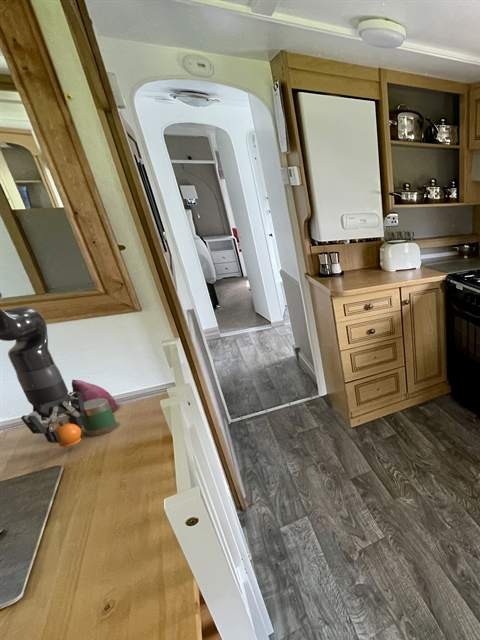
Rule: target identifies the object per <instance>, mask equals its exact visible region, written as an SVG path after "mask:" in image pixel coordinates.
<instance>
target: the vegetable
mask: <svg viewBox="0 0 480 640" xmlns="http://www.w3.org/2000/svg"><path fill="white" fill-rule="evenodd" d="M71 387H72V392H80V393H81V395H82V399H83V402H86V401H89V400H93V399H99V398H104V399H107V401H108V403H109V405H110V407H111V410H112V412H113V413H114V412H115V411H116V410H118V404H117V401H116V399H115V398H114V397H113V396H112V394H110V393H109V391H107V390H106V389H104V388H103V387H101V386H99V385H97V384H93V383H90V382H86V381H83V380H80V379H71ZM77 406H78V405H77Z"/></svg>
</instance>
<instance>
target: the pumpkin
mask: <svg viewBox="0 0 480 640" xmlns="http://www.w3.org/2000/svg"><path fill="white" fill-rule="evenodd" d="M54 430H56V432H57V434H58V436H59V438H60V441H59V442H58V443H57V444H58V446H59V447H61V448H66V447H71V446H74V445H76V444H78V443H79V442H80V441H81V440H82V438H81V435H82V428H81V429H80V428H79V427H78V426H77V425H75V424H70V422H69V423H65V421H64V420H61V421H58V425H57V426H55V427H54Z"/></svg>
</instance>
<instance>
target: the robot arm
mask: <svg viewBox="0 0 480 640" xmlns="http://www.w3.org/2000/svg"><path fill="white" fill-rule="evenodd" d="M2 297H3V294H2V292H0V300H2ZM48 337H49V336H48V326H47V323H46V320H45V318H44V317H43V315H42V314H41V313H40V312H39V311H37V310H36V309H34V308H32V307H30V306H25V305H24V306H23V305H21V306H15V307H11V308H7V309H5V310H4V309H3V308H2V307H1V306H0V341H3V342H12V341H15V344H13V346H12V347H11V348H10V349H9V350H8V352H7V357H8V359H9V361H10V363H11V365H12V367H13V370H14V372H15V374H16V379H17V381H18V383H19V386H20V388H21V389H22V391H23V393H24V395H25V398H26V399H27V402H28V403H29V404H30V405H31V406H32V412H30V413H29V414H26V415H21V417H20V419H21V420H22V422H23V423H24V425H25V426H26V427H27V428H28V430H29V431H30V432H31V433H32V434H33V435H34V434H37V435H38V434H40V435H43V434H44V437H45V439H46V441H47V442H48V443H52V444H58V442H59V441H60V438H59V436H58V434H57V432H56V430H54V429H55V425H56V423H57V419H58V417H60V416H61V415H65V416H66V417H67V420H68V422H69V423H70V424H75V425H77V426H78V427H79V428H80V429H81V430H82V428H83V425H82V422H81V420H80V417H79V416H80V413H81V412H84V411H85V408H84V403H83V399H82V395H81V393H80V392H73V391H70V392H69V390H68V387H67V385H66V382H65V380H64V378H63V376H62V372H60V371H61V370H60V369H59V367H58V366H57V364H56V363H55V360H54V359H53V356H52V354H51V352H50V350H49V338H48ZM77 405H78V406H77Z"/></svg>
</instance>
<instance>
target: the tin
mask: <svg viewBox="0 0 480 640" xmlns="http://www.w3.org/2000/svg"><path fill="white" fill-rule="evenodd" d="M83 403H84V408H85V411H84V412H81V413H80V416H79V417H80V420H81V422H82V428H83V430H84V431H85V433H86V435H87V436H89V437H95V436H101V435H105V434H107V433H109V432H111V431H114V430H115V429H116V428H117V426H118V424H117V421H116V418H115V415H114V412H112V410H111V407H110V405H109V403H108V401H107V399H104V398H99V399H93V400H89V401H86V402H83Z"/></svg>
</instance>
